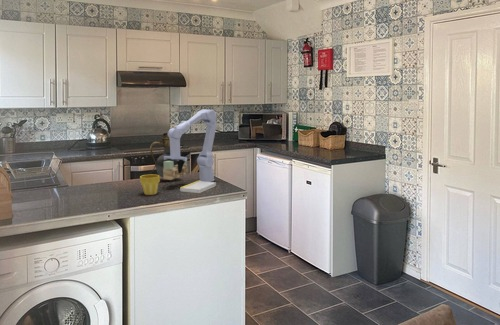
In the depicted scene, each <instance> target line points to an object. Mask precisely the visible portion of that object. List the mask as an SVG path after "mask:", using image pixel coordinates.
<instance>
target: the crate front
mask: <svg viewBox="0 0 500 325" xmlns="http://www.w3.org/2000/svg"><path fill="white" fill-rule="evenodd" d="M172 168H174V163H173V161H164V169H172Z"/></svg>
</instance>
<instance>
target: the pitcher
mask: <svg viewBox="0 0 500 325" xmlns="http://www.w3.org/2000/svg"><path fill="white" fill-rule="evenodd" d="M167 133H168V132H164V133H162V135H163V136H162V135H161V136H160V138H161V140H162V141H153V142H152V143H151V144H150V146H149V151H150V154H151V157H152V159H153V161H154V163H155V164H154V167H153V170H152V172H154V170H156V172H157V175H159V176H160V178H162V182H166V181H167V182H168V181H169V182H174V181H176V179H177V178H175V179H172V180H167V179H163V169H164V161H167V160H164V156H170V139H169V137H168V134H167ZM155 145H160V146H162V147H163V154H161V155H159V157H158V158H155V156H154V153H153V147H154V146H155ZM175 165H177V160H174V166H175Z"/></svg>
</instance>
